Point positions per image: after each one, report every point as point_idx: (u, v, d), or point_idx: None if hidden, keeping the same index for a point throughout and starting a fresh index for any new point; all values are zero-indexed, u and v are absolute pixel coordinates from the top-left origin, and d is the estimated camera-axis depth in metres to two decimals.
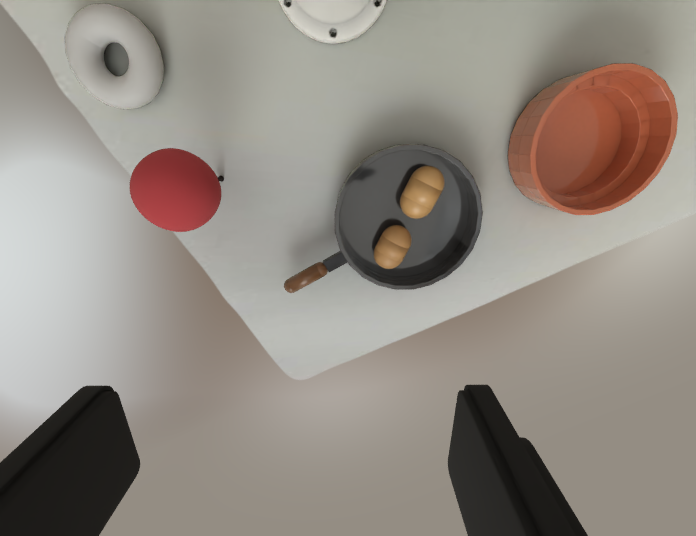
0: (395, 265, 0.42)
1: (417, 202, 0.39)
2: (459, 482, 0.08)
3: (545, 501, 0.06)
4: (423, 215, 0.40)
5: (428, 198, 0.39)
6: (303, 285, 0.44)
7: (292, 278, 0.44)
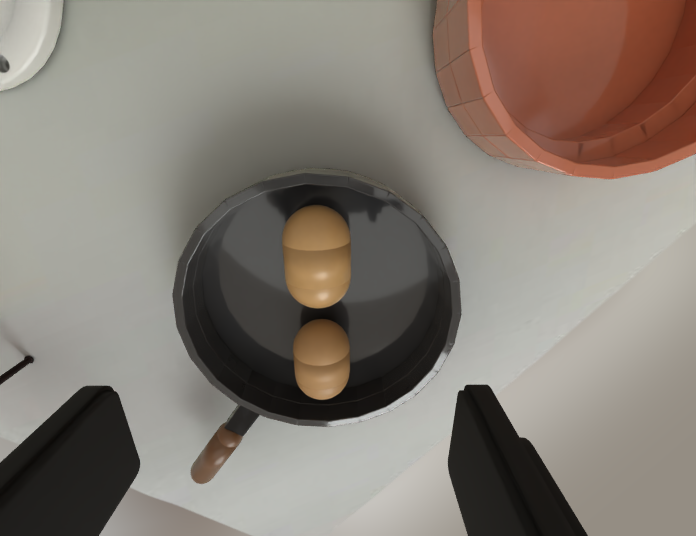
0: (338, 391, 0.23)
1: (308, 287, 0.19)
2: (459, 482, 0.08)
3: (545, 501, 0.06)
4: (337, 299, 0.20)
5: (324, 272, 0.19)
6: (216, 469, 0.26)
7: (196, 463, 0.26)
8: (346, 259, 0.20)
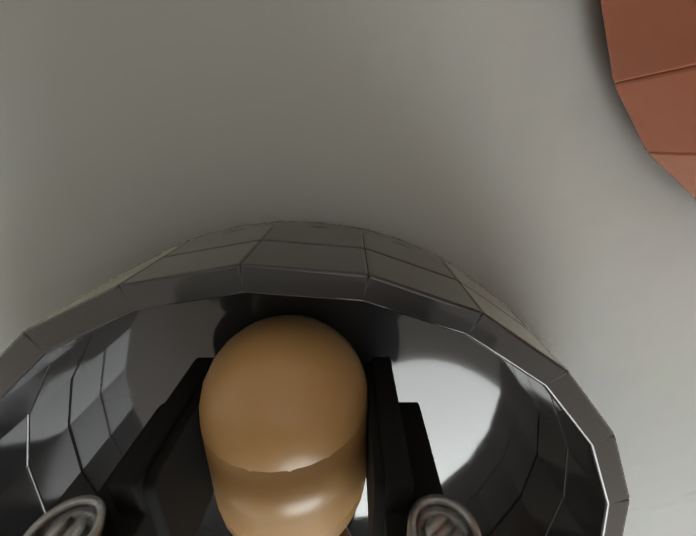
0: None
1: None
2: None
3: (397, 442, 0.07)
4: None
5: (300, 512, 0.07)
6: None
7: None
8: (358, 457, 0.08)
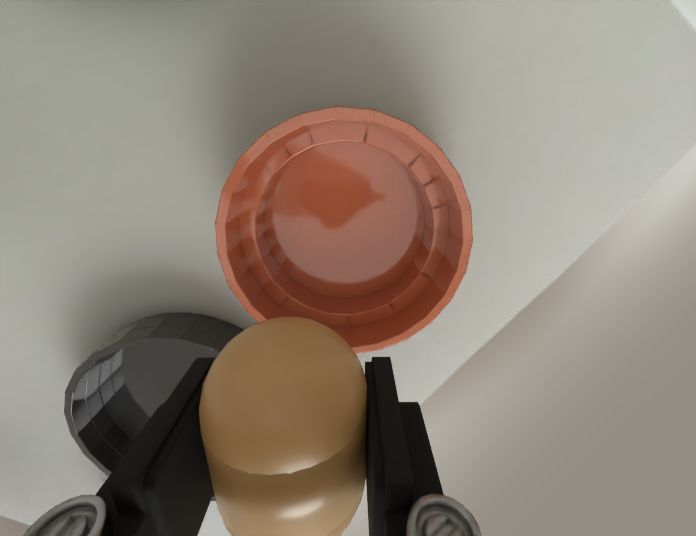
0: None
1: None
2: None
3: (397, 442, 0.07)
4: None
5: (300, 514, 0.07)
6: None
7: None
8: (358, 459, 0.08)
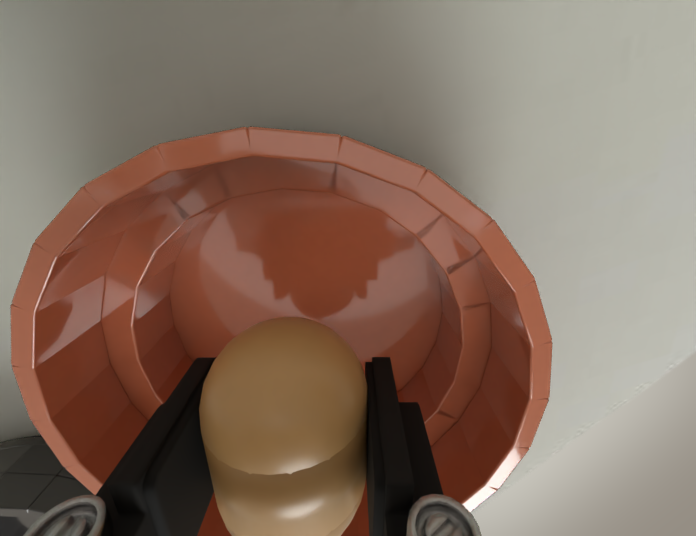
0: None
1: None
2: None
3: (397, 443, 0.07)
4: None
5: (300, 514, 0.07)
6: None
7: None
8: (358, 459, 0.08)
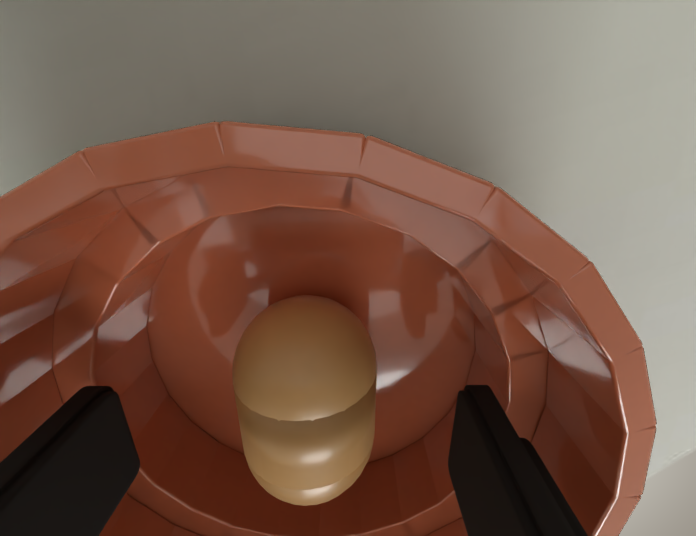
0: None
1: (285, 484, 0.09)
2: (459, 482, 0.08)
3: (545, 501, 0.06)
4: None
5: (319, 459, 0.08)
6: None
7: None
8: (368, 416, 0.09)
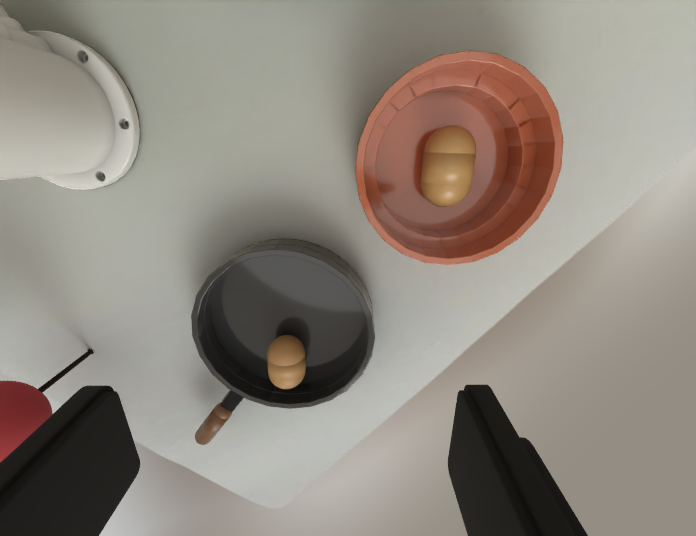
0: (295, 384, 0.34)
1: (446, 183, 0.26)
2: (459, 482, 0.08)
3: (545, 501, 0.06)
4: (462, 197, 0.27)
5: (460, 171, 0.26)
6: (212, 434, 0.37)
7: (199, 429, 0.38)
8: (473, 166, 0.27)
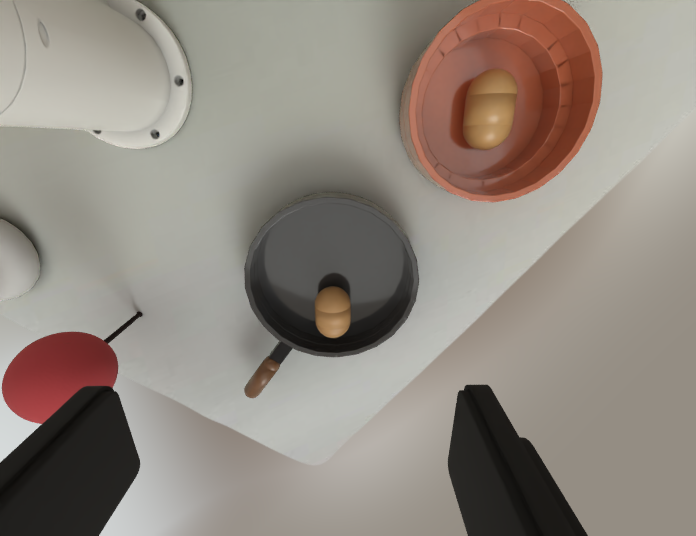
0: (342, 332, 0.36)
1: (491, 123, 0.28)
2: (459, 482, 0.08)
3: (545, 501, 0.06)
4: (504, 138, 0.29)
5: (504, 111, 0.28)
6: (262, 387, 0.39)
7: (248, 383, 0.39)
8: (514, 107, 0.28)
